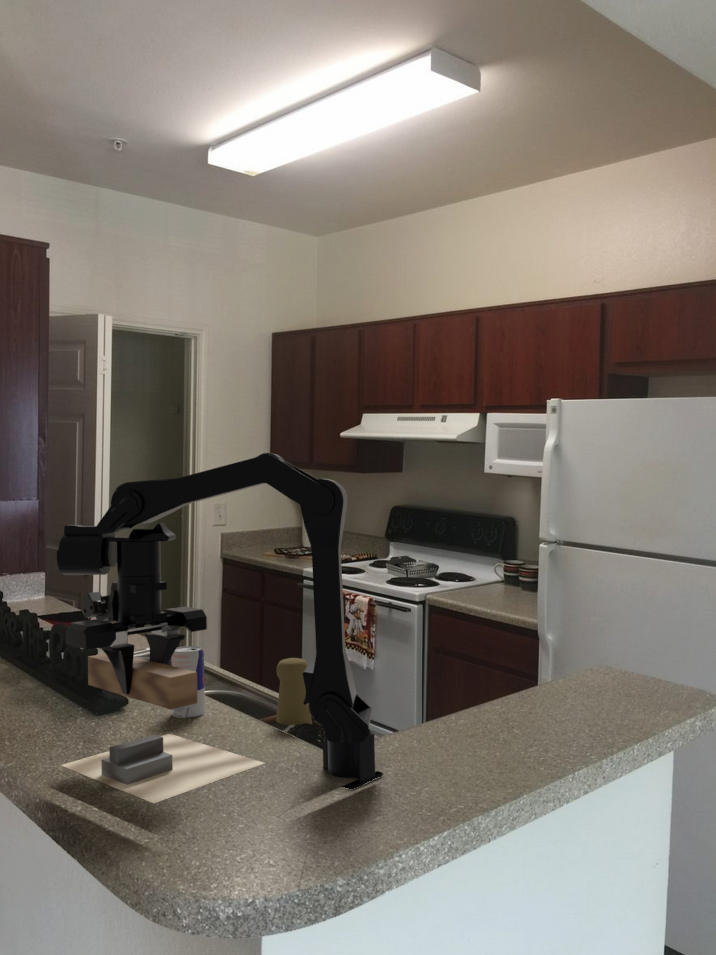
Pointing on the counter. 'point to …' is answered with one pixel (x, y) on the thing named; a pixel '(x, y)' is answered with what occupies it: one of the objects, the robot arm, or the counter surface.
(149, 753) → the flat beige square board
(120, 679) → the robot arm
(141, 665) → the walnut bar
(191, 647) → the energy drink
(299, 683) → the cork
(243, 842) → the counter surface
